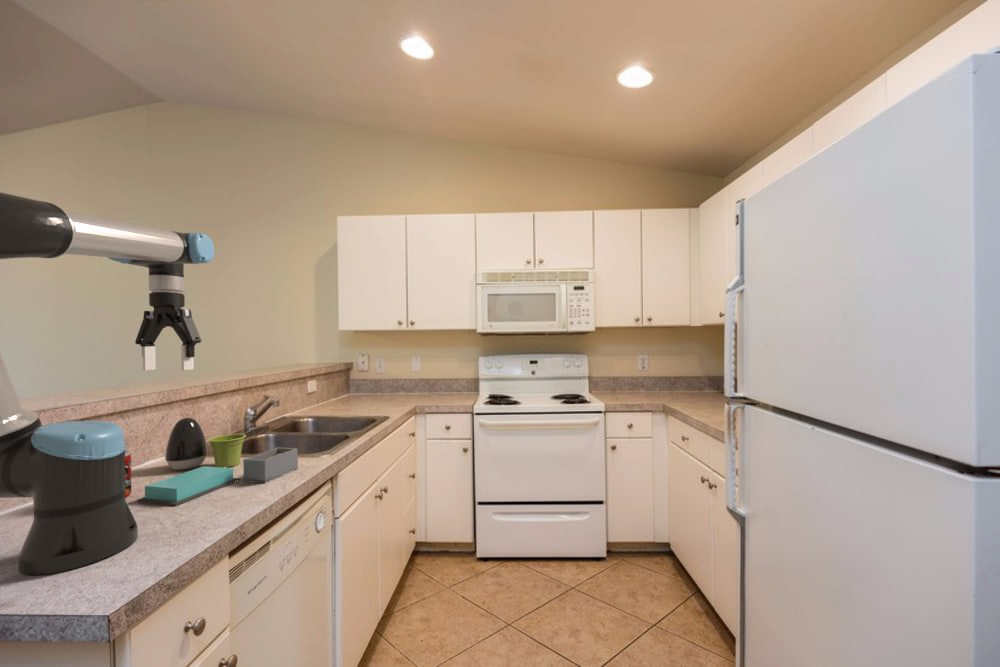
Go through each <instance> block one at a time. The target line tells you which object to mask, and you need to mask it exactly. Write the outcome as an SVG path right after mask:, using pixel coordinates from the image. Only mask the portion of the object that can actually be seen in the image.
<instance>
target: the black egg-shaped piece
mask: <svg viewBox="0 0 1000 667" xmlns="http://www.w3.org/2000/svg"><path fill="white" fill-rule="evenodd" d="M207 455H208V445H207V440H206V436H205V434H204V431H203V429H202V427H201V425H200V424H199V422H198V421H197V420H196V419H195V418H192V417H185V418H182V419H179V420H178V421H177V422H176V423H175V424H174V426H173V427H172V429H171V432H170V434H169V438H168V440H167V445H166V449H165V455H164V456H165V457H164V459H165V461H166V462H167V465H168V466H169V468H170V469H172V470H174V471H186V469H188V470H191V468H193V469H196V468H197V467H199V466H201V465H202V464H203V463H204V461H205V459H206V457H207Z"/></svg>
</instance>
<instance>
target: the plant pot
mask: <svg viewBox="0 0 1000 667" xmlns="http://www.w3.org/2000/svg"><path fill="white" fill-rule="evenodd" d="M246 437H247V436H246V434H242V433H238V434H237V433H233V434H225V435H219V436H213V437H211V438H209V439H208V442H209V443H210V446H211V447H212V453H213V454H212V455H213V457H214V464H215V467H221V468H224V467H228V468H231V467H236V466H239V465H240V463H241V462H240V461H241V456H242V450H243V444H244V441H245V438H246ZM235 465H236V466H235Z"/></svg>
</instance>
